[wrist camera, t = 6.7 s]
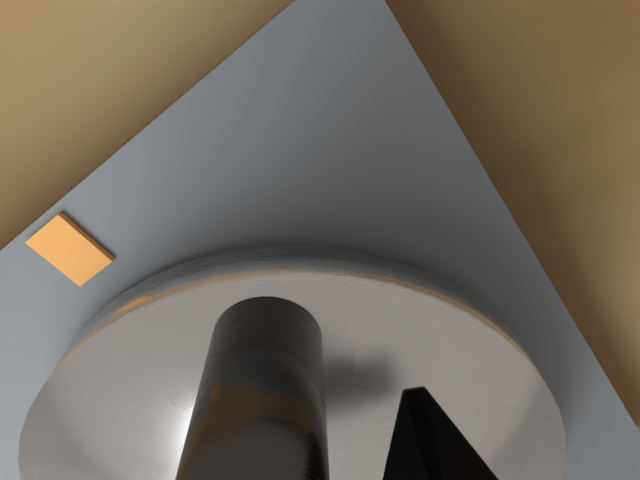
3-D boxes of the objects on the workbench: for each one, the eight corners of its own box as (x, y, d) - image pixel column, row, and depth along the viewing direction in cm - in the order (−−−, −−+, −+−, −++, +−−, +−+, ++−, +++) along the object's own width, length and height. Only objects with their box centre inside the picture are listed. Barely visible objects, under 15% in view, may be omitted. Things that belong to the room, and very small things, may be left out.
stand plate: (632, 430, 18) (669, 481, 16) (279, 581, 23) (277, 634, 21) (345, -45, 10) (355, -52, 8) (-110, 342, 15) (-169, 395, 13)
